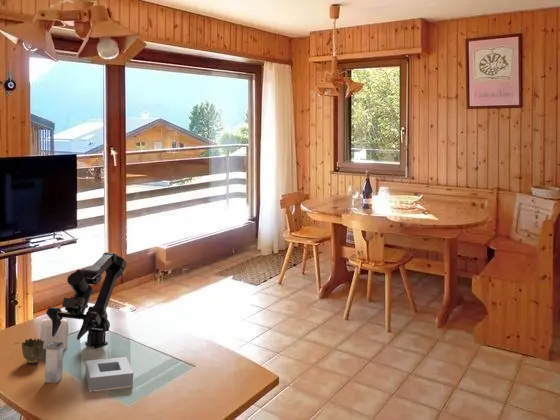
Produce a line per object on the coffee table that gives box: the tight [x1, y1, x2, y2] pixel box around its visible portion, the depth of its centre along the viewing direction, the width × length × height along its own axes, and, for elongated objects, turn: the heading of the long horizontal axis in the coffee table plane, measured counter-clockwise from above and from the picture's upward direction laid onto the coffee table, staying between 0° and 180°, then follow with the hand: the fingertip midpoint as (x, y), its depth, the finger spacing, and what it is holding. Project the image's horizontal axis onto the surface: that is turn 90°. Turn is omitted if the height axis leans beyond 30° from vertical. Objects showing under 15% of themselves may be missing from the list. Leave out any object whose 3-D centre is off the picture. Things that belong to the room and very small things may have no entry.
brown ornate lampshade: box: [21, 338, 44, 365], centre depth 193 cm, size 8×7×8 cm
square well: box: [84, 356, 134, 393], centre depth 185 cm, size 14×14×5 cm
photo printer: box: [39, 317, 69, 351], centre depth 207 cm, size 10×4×12 cm, turn 103°
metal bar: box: [44, 341, 64, 384], centre depth 181 cm, size 4×4×13 cm
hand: (65, 337), depth 187 cm, fingers open, 9 cm apart
